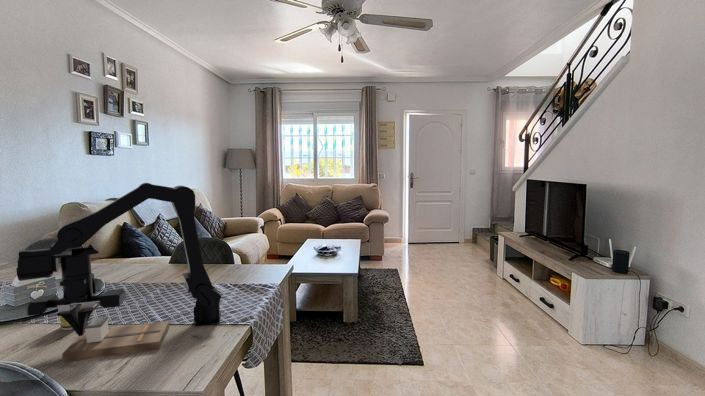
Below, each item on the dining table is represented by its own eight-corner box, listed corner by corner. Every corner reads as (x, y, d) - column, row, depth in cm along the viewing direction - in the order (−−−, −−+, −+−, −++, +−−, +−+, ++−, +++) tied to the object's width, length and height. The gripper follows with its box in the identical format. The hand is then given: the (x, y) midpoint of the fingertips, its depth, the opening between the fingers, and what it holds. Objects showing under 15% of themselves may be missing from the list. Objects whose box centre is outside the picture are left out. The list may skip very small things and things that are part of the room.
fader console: (169, 328, 99) (168, 320, 99) (159, 349, 88) (159, 341, 88) (84, 338, 93) (84, 330, 93) (62, 361, 82) (62, 353, 82)
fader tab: (109, 331, 92) (108, 316, 92) (101, 341, 87) (100, 324, 87) (94, 333, 91) (93, 317, 91) (86, 343, 86) (85, 326, 86)
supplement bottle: (71, 331, 97) (69, 296, 96) (55, 329, 98) (53, 295, 97) (90, 323, 102) (88, 289, 101) (74, 321, 103) (72, 288, 103)
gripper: (130, 261, 97) (133, 317, 98) (47, 267, 91) (52, 326, 93) (116, 273, 86) (120, 335, 88) (22, 280, 81) (28, 346, 82)
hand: (81, 335), depth 88 cm, fingers closed
